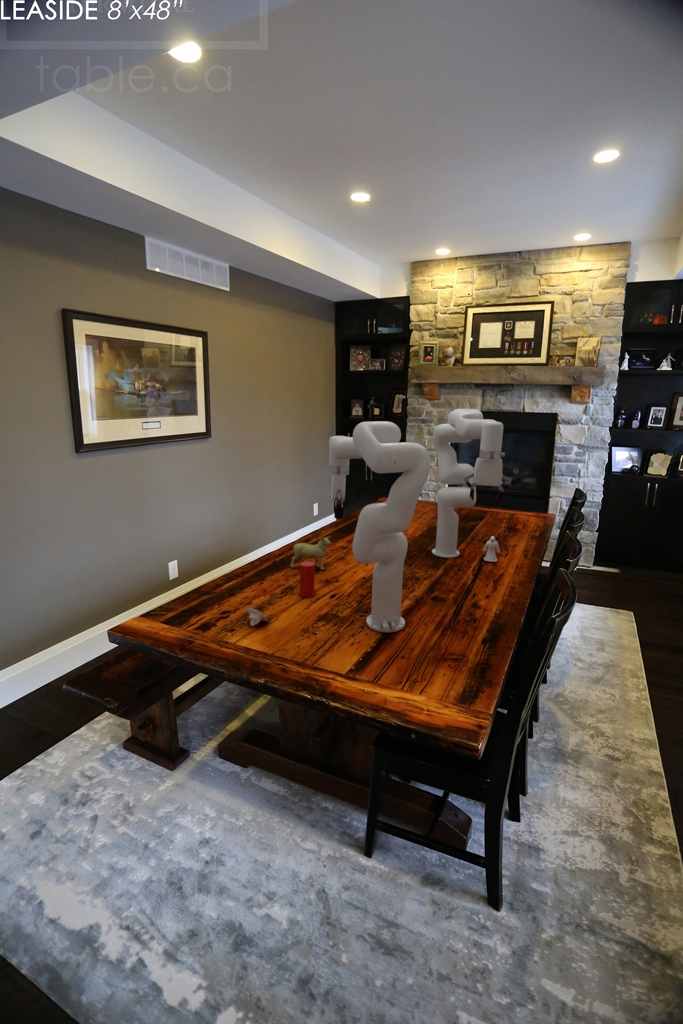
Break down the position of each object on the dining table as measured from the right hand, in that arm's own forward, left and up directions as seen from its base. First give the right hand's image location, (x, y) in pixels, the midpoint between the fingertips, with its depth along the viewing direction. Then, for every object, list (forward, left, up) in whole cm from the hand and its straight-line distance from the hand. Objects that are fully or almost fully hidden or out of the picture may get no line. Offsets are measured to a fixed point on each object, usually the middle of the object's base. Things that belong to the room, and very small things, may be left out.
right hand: (485, 500), depth 190 cm
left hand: (+12, -55, -6) cm, 56 cm away
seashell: (+50, -75, -34) cm, 96 cm away
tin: (+24, -64, -34) cm, 76 cm away
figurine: (-29, +9, -34) cm, 46 cm away
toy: (-3, -68, -34) cm, 76 cm away
